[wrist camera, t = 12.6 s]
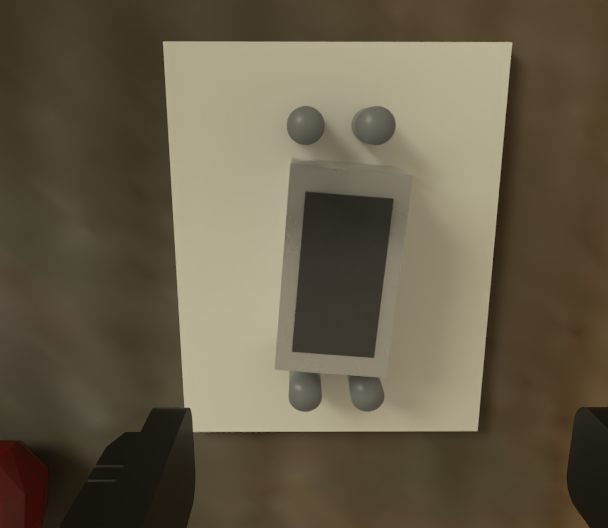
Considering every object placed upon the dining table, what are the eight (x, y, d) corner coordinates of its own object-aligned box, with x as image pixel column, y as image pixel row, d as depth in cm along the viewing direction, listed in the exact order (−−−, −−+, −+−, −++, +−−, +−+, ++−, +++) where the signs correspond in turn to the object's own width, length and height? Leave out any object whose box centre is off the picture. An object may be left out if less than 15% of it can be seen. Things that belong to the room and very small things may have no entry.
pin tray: (189, 422, 31) (173, 464, 27) (168, 44, 26) (145, 31, 22) (472, 421, 31) (496, 463, 28) (504, 45, 26) (539, 32, 23)
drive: (278, 332, 29) (274, 371, 24) (291, 157, 27) (290, 165, 22) (373, 339, 29) (386, 380, 25) (394, 166, 27) (414, 175, 22)
